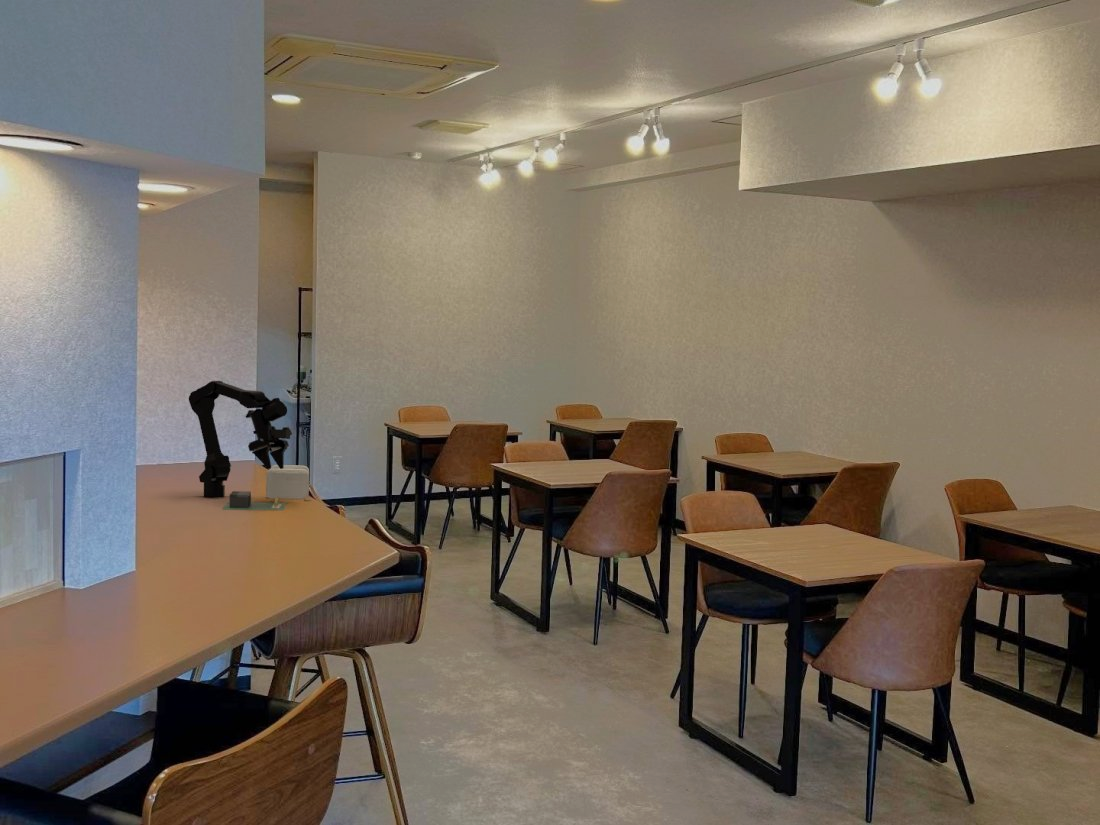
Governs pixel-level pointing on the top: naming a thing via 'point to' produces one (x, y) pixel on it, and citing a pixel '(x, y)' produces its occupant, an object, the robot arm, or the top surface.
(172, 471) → the top surface
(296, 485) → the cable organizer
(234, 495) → the plug
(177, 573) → the top surface
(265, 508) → the header board
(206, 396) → the robot arm
